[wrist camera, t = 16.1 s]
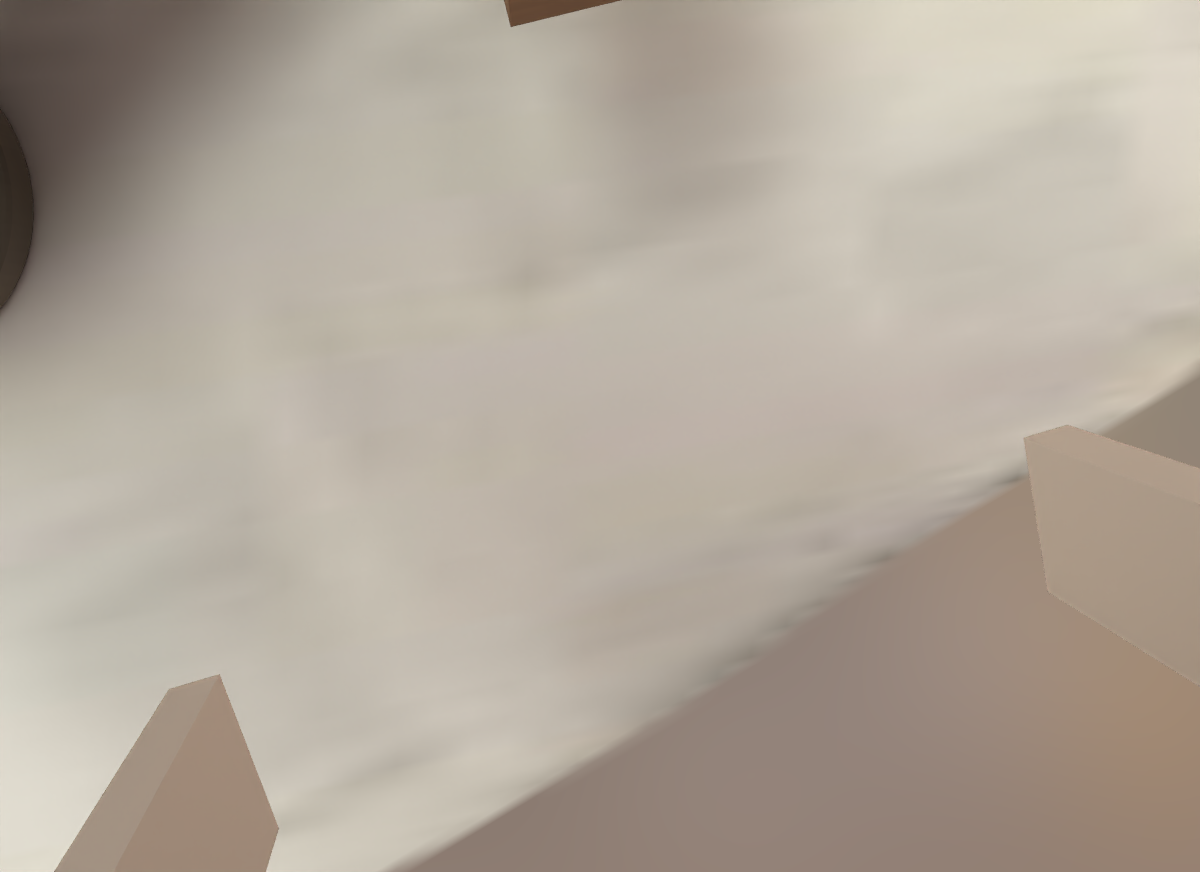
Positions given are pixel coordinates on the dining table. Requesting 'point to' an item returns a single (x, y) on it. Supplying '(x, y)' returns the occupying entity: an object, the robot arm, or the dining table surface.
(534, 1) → the beam
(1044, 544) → the robot arm
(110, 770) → the dining table surface
